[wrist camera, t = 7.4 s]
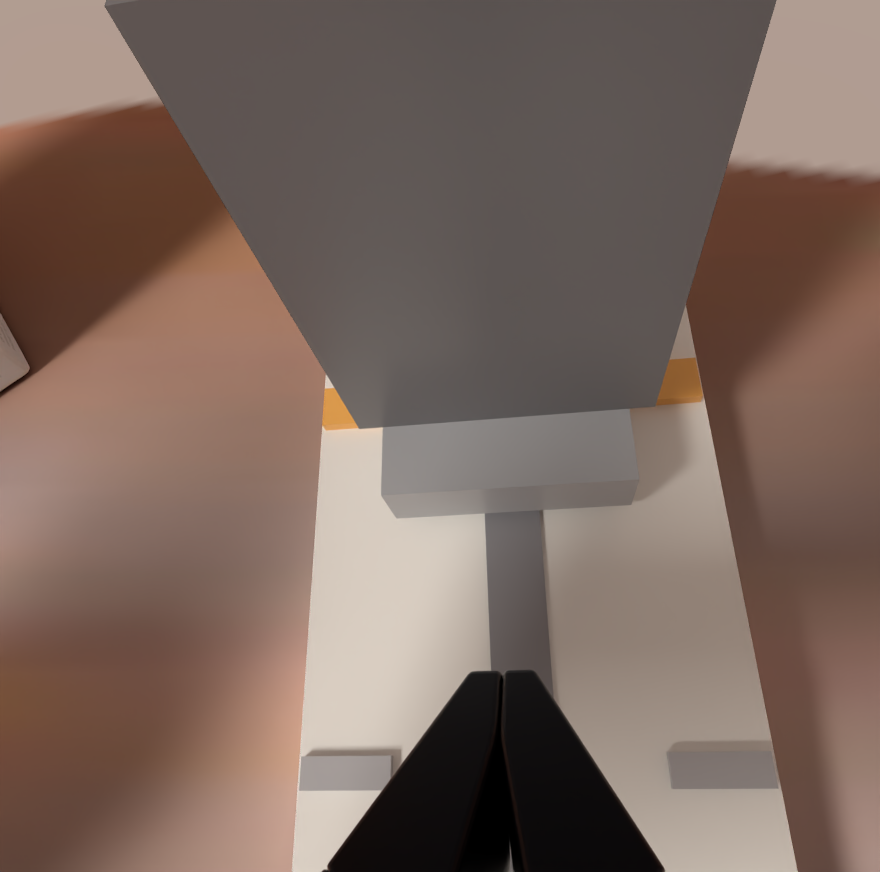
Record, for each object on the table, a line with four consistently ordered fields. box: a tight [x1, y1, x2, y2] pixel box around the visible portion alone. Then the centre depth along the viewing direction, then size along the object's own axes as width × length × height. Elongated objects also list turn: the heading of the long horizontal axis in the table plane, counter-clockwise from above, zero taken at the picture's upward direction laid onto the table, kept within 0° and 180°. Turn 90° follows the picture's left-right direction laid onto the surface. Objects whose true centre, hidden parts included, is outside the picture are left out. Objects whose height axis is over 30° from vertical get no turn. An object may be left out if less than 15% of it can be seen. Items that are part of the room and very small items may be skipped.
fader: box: [105, 0, 776, 519], centre depth 11 cm, size 6×6×11 cm
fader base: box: [292, 305, 798, 872], centre depth 14 cm, size 20×9×2 cm, turn 1°
